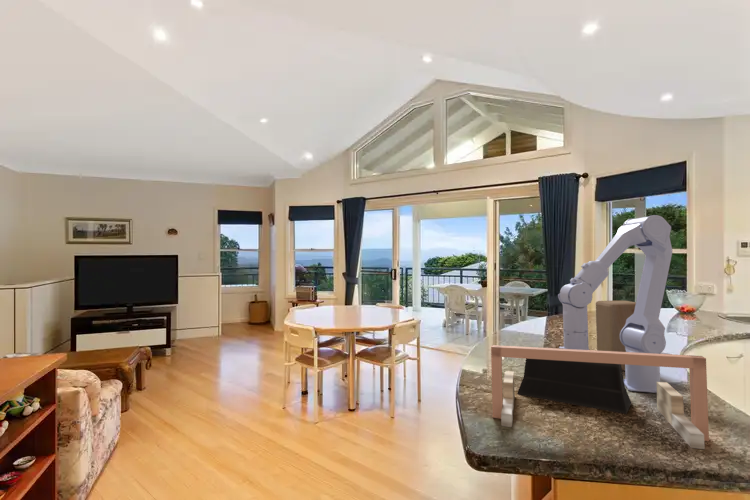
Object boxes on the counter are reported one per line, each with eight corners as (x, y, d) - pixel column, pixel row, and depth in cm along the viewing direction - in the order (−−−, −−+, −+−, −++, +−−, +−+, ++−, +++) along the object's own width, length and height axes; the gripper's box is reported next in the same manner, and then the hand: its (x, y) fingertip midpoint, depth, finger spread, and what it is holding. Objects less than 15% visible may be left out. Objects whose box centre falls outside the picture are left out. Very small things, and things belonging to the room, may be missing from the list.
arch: (493, 414, 91) (491, 345, 91) (704, 436, 78) (701, 355, 78) (492, 417, 89) (491, 346, 89) (709, 441, 76) (706, 358, 76)
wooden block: (647, 371, 123) (645, 303, 123) (613, 371, 123) (611, 303, 123) (627, 362, 133) (625, 300, 133) (596, 363, 133) (594, 300, 133)
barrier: (516, 394, 104) (515, 354, 104) (527, 386, 111) (526, 348, 111) (626, 414, 89) (625, 367, 90) (631, 403, 96) (630, 359, 97)
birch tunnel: (506, 395, 103) (505, 370, 103) (668, 410, 91) (667, 382, 92) (501, 425, 84) (500, 396, 84) (704, 449, 73) (703, 414, 73)
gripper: (556, 325, 115) (558, 375, 115) (560, 335, 101) (562, 391, 101) (585, 326, 113) (586, 377, 112) (593, 336, 99) (594, 393, 99)
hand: (577, 384), depth 107 cm, fingers open, 7 cm apart
